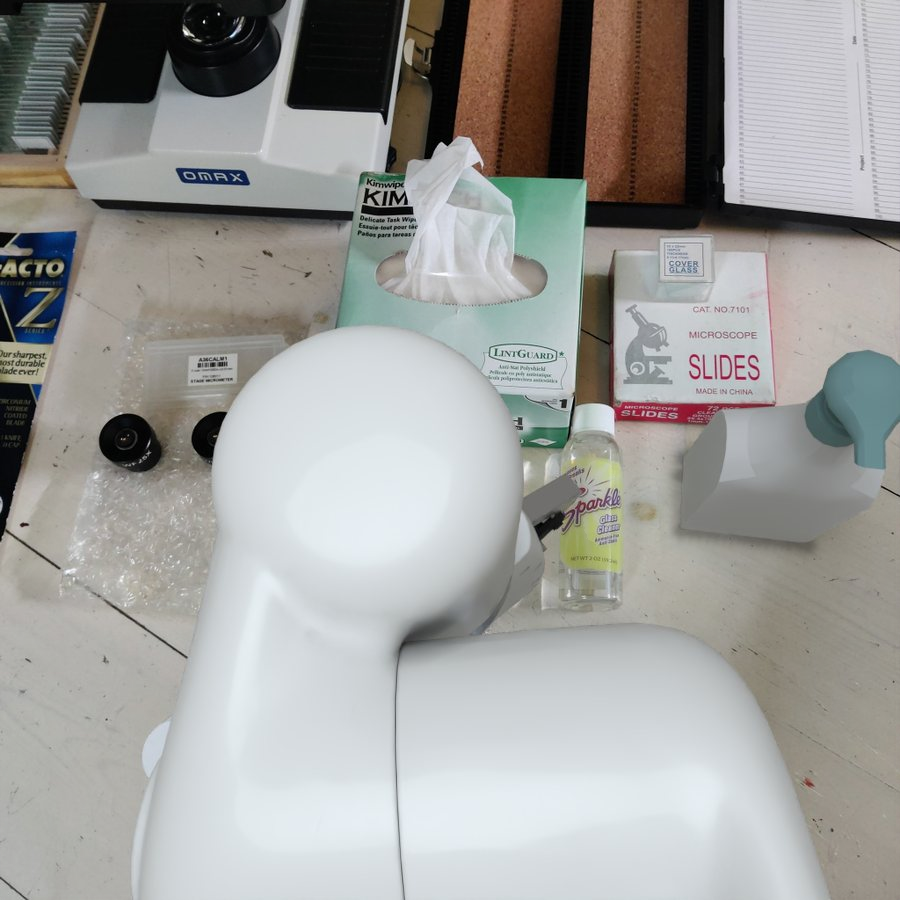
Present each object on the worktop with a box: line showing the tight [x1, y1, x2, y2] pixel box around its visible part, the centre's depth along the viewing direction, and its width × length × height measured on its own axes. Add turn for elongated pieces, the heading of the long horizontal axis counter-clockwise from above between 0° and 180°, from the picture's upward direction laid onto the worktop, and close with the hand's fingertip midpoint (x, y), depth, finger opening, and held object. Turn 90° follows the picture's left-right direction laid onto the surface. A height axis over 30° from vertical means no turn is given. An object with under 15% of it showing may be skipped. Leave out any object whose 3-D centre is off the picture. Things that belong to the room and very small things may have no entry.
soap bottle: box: [679, 349, 900, 544], centre depth 59 cm, size 11×8×27 cm
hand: (441, 608), depth 46 cm, fingers open, 9 cm apart
